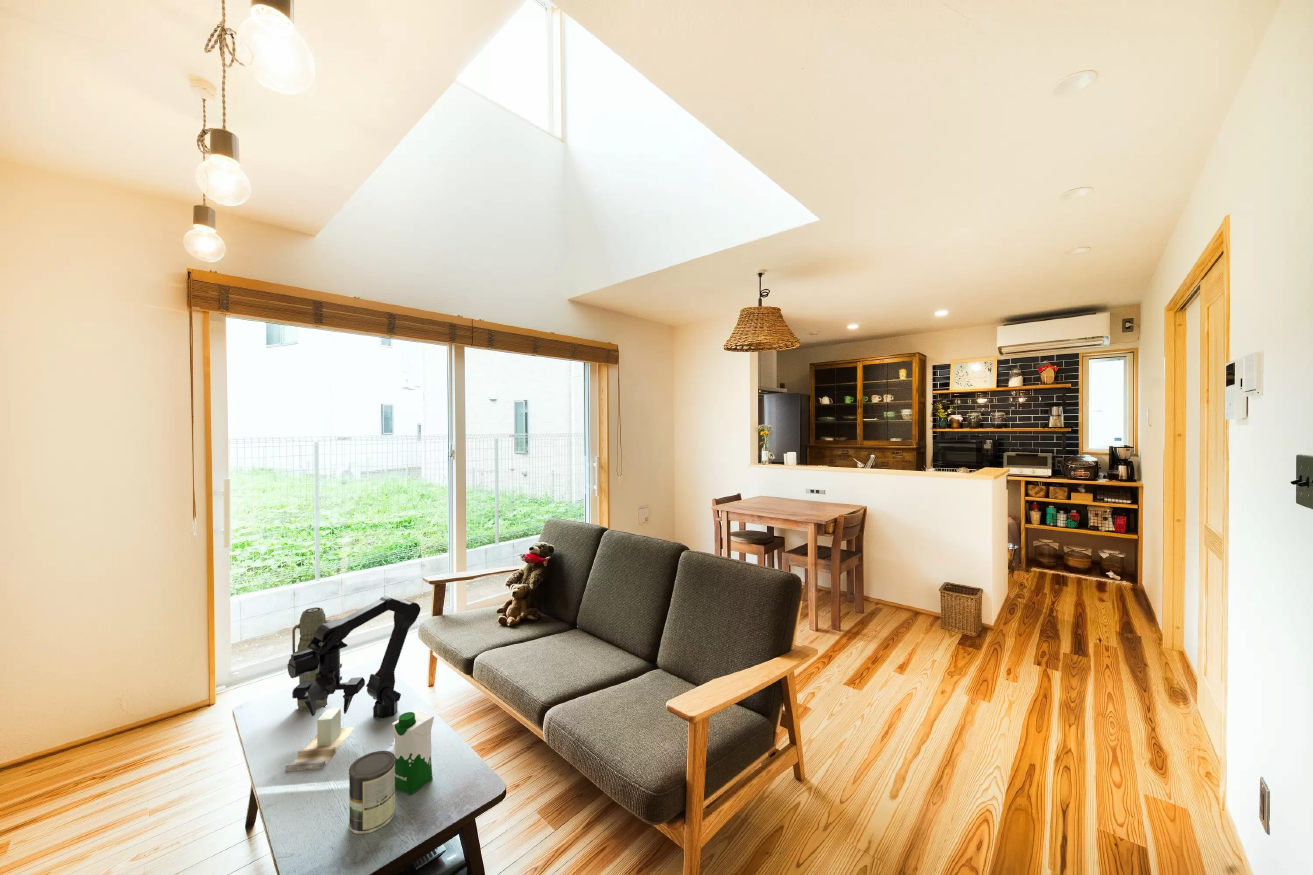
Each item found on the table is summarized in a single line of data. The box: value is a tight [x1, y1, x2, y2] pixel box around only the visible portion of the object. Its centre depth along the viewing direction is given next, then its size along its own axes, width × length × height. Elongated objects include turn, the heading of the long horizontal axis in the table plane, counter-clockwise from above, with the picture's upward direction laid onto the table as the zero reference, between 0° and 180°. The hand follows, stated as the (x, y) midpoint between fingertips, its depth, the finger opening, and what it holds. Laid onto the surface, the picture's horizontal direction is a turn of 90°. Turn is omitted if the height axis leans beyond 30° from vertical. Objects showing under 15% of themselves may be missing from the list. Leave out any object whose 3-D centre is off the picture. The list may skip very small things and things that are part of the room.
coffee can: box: [348, 750, 396, 835], centre depth 127 cm, size 10×10×14 cm
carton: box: [316, 707, 342, 746], centre depth 156 cm, size 4×6×8 cm
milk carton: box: [391, 709, 435, 796], centre depth 139 cm, size 9×9×20 cm
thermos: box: [291, 607, 331, 712], centre depth 177 cm, size 9×12×35 cm
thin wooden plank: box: [285, 726, 356, 772], centre depth 153 cm, size 10×20×3 cm, turn 8°
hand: (329, 714), depth 157 cm, fingers open, 9 cm apart
